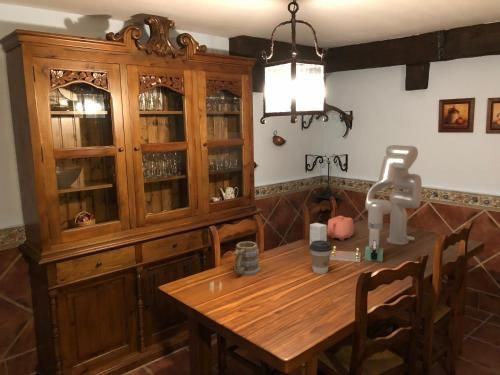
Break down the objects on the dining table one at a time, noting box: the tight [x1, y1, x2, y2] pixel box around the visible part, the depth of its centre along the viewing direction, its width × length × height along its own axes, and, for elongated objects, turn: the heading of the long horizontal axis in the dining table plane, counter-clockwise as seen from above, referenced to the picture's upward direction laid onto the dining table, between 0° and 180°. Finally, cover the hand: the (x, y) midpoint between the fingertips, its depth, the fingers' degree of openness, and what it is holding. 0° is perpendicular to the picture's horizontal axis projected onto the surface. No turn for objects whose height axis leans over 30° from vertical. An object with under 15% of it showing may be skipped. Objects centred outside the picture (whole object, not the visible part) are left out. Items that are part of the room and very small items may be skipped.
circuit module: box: [364, 245, 384, 262], centre depth 227 cm, size 9×5×6 cm, turn 71°
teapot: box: [327, 215, 355, 242], centre depth 265 cm, size 22×13×14 cm, turn 135°
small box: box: [309, 222, 328, 246], centre depth 251 cm, size 8×6×13 cm
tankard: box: [233, 240, 261, 276], centre depth 211 cm, size 20×13×15 cm, turn 154°
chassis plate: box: [329, 245, 362, 263], centre depth 232 cm, size 16×12×4 cm
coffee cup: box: [308, 240, 333, 275], centre depth 211 cm, size 11×11×15 cm
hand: (373, 257), depth 228 cm, fingers closed on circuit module, 5 cm apart
